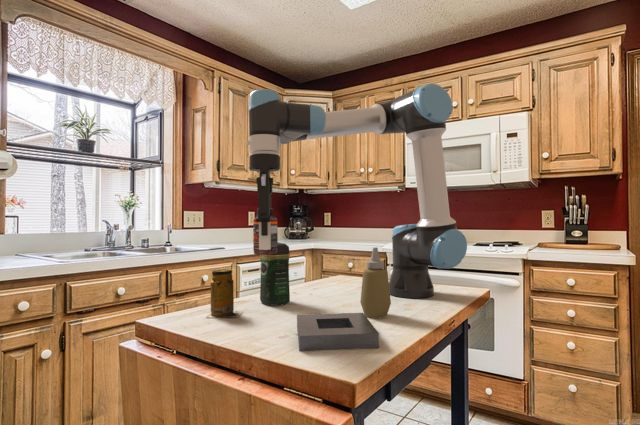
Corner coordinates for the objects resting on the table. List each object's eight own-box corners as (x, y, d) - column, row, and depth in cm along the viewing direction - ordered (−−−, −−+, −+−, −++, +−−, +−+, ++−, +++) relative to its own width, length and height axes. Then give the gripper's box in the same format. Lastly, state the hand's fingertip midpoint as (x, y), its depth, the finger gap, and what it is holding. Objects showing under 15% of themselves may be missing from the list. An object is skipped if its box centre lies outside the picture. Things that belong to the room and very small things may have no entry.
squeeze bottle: (388, 321, 97) (387, 249, 97) (356, 318, 99) (356, 248, 99) (393, 313, 104) (393, 246, 104) (364, 310, 107) (363, 246, 107)
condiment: (213, 311, 108) (213, 268, 108) (243, 311, 108) (243, 268, 108) (205, 318, 101) (205, 272, 101) (238, 318, 101) (237, 272, 101)
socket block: (363, 325, 93) (362, 312, 93) (378, 348, 77) (378, 333, 77) (297, 327, 92) (296, 314, 92) (299, 351, 76) (299, 335, 76)
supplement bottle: (249, 254, 96) (248, 208, 96) (270, 252, 99) (269, 208, 99) (260, 256, 91) (259, 208, 91) (282, 254, 94) (281, 208, 94)
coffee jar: (293, 304, 115) (293, 242, 115) (269, 307, 111) (269, 243, 111) (279, 298, 124) (279, 240, 124) (256, 301, 119) (256, 241, 119)
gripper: (252, 159, 104) (253, 245, 104) (245, 148, 85) (246, 252, 85) (280, 159, 105) (281, 244, 105) (279, 148, 86) (280, 251, 86)
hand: (265, 248), depth 95 cm, fingers closed on supplement bottle, 6 cm apart
